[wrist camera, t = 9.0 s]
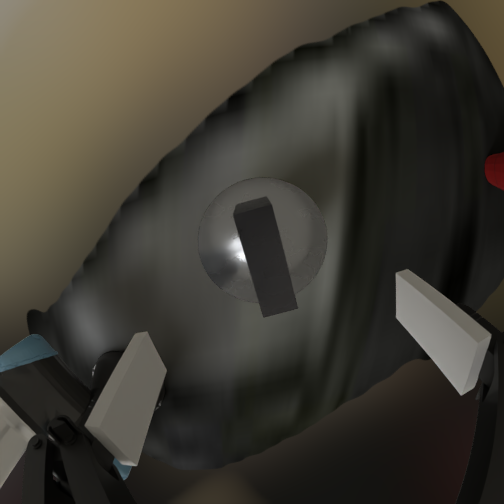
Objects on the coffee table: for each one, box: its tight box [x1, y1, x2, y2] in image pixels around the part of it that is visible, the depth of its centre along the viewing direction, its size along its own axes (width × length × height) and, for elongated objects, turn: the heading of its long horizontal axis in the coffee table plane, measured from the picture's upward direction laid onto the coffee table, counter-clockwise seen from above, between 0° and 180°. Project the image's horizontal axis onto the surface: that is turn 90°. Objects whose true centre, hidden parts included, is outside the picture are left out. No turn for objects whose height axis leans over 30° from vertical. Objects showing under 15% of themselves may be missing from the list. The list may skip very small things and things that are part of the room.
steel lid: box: [198, 177, 327, 317], centre depth 25 cm, size 13×13×7 cm
